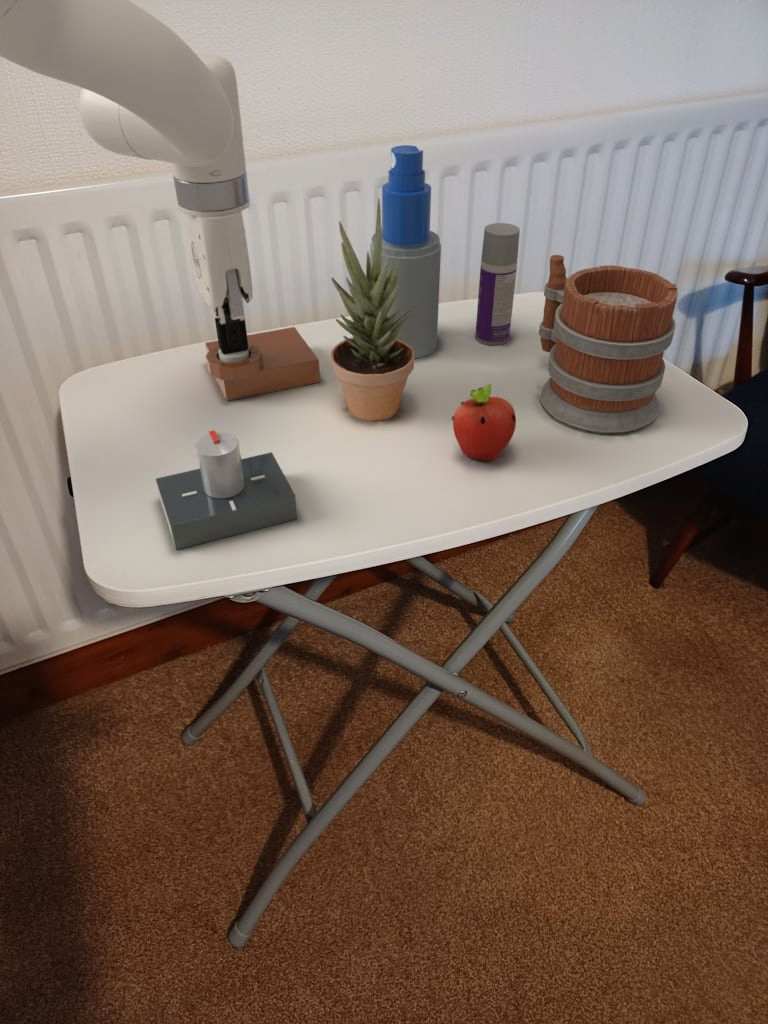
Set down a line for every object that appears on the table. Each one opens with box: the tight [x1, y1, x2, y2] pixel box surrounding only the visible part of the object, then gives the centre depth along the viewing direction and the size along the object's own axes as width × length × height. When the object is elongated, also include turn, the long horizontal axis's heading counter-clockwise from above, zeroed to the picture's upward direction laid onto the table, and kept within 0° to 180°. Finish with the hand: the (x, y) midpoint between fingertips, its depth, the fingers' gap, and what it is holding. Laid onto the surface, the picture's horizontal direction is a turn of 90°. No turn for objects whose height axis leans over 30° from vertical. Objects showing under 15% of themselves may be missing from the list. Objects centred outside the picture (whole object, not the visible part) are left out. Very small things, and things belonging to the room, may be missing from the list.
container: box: [474, 222, 521, 346], centre depth 104 cm, size 5×5×15 cm
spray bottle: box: [369, 144, 442, 360], centre depth 99 cm, size 9×9×25 cm
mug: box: [538, 254, 679, 435], centre depth 92 cm, size 14×19×15 cm
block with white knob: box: [204, 326, 321, 402], centre depth 98 cm, size 13×11×5 cm
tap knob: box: [195, 430, 245, 498], centre depth 75 cm, size 4×4×5 cm
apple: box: [451, 384, 517, 463], centre depth 83 cm, size 8×7×10 cm
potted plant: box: [330, 197, 419, 422], centre depth 86 cm, size 10×10×25 cm
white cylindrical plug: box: [218, 349, 249, 363], centre depth 95 cm, size 4×4×2 cm
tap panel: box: [155, 452, 298, 551], centre depth 78 cm, size 12×8×3 cm
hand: (233, 349), depth 94 cm, fingers closed
